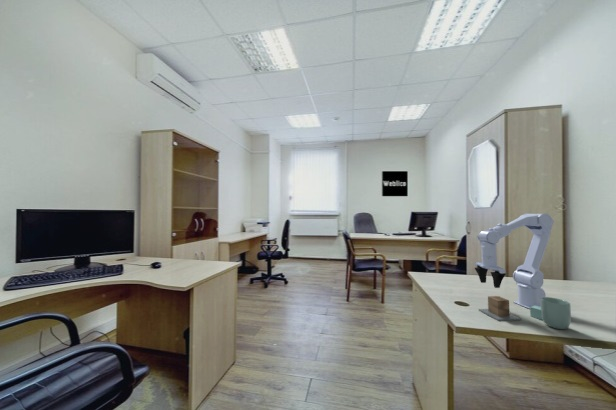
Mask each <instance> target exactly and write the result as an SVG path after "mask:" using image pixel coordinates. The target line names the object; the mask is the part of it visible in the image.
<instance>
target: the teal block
mask: <svg viewBox="0 0 616 410" xmlns="http://www.w3.org/2000/svg"><path fill="white" fill-rule="evenodd" d="M529 310H530V311H529V312H530V317H531V318H536V319H538V320H541V321H543V319H542V315H541V307H539V306H532V307H530V309H529Z"/></svg>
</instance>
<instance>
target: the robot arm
mask: <svg viewBox="0 0 616 410" xmlns="http://www.w3.org/2000/svg"><path fill="white" fill-rule="evenodd" d="M554 222H555V221H554V219H553V217H552V215H550V214H549V213H524V214H521V215H520V216H519V217H517V218H516V219H513V220H512V221H510V222H508V223H497V224H496V226H494V227H490V228H488V229H487V230H482V231H480V232H479V233H478V236H477V237H476V238H477V241H479V245H480V250H481V251H480V254H481V262H479V261H476V262H475V263H474V264H475V267H474V270H475V271H476V273H477V275H478V278H479V281H480V283H482V284H486V283H487V273H488V271H489V270H490V274H491V277H492V280H493V286H494V288H495V289H499V288H500V287H501V284H502V282H503V280H504V278H505V277H506V275H507V273H506V268H503V267H500V266H498V256H497V244H498V243H499V241H500V240H501V239H502V238H505V237H508V236H509V235H511V234H512V231H514V230H516V229H519V228H523V227H526V228H527V229H528V230H529V231H530V232H531V233H532V234H533V236H532V238H531V242H530V244H529V247H528V250H527V252H526V256H525V259H524V261H523V264H521V265H518V266H517V267H516V270H514V272H513V273H512V279H513V280H514V282H515V283H516V285H517V300H514V301H512V302H513V303H515V304H517V305H519V306H522V307H525V308H527V309H529V310H530V307H532V306H539V307H541V298H542V297H547V296H546V292H545V290H544V289H543V288H542V287H543V285H544V276H545V274H544V272H543V271H542V270H540V267H541V264H542V261H543V258H544V255H545V252H546V248H547V246H548V244H549V240H550V237H551V233H552V227H553V226H554Z"/></svg>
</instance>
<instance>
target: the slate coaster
mask: <svg viewBox="0 0 616 410" xmlns="http://www.w3.org/2000/svg"><path fill="white" fill-rule="evenodd" d="M478 312H480V313H483V314H485V315H487V316H489V317H490V318H492V319H494V320H496V321H499V322H500V321H522V318H520V317H518V316H516V315H515V314H512V313H510V316H497V315H495V314H493V313H491V312H489V311H488V308H478Z"/></svg>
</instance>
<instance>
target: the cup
mask: <svg viewBox="0 0 616 410" xmlns="http://www.w3.org/2000/svg"><path fill="white" fill-rule="evenodd" d="M541 315H542V319H543V320H542V321H543V323H544V324H545V325H547V326H549V327H551V328H553V329H558V330H567V329H568V328H569V327H570V326H571V321H572V310H571V303H570V302H569V301H567V300H564V299H561V298H556V297H549V296H546V297H542V298H541Z"/></svg>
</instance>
